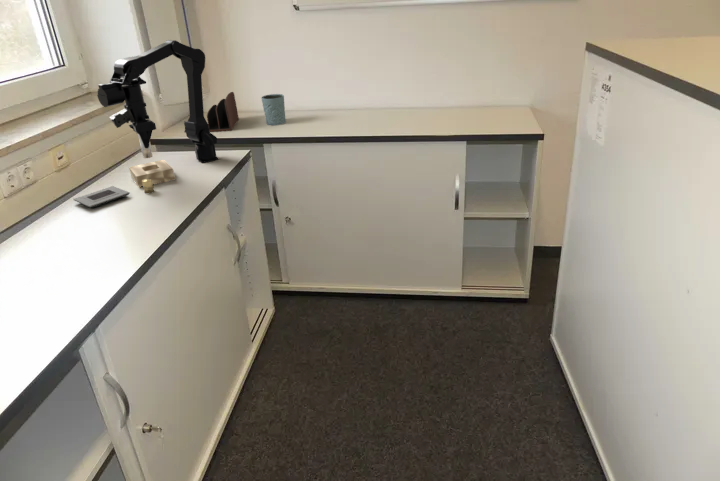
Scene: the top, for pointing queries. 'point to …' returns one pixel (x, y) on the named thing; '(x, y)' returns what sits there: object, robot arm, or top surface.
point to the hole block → (152, 172)
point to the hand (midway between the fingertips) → (145, 146)
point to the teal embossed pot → (274, 109)
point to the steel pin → (145, 149)
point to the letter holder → (223, 115)
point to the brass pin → (148, 185)
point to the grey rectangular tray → (101, 196)
